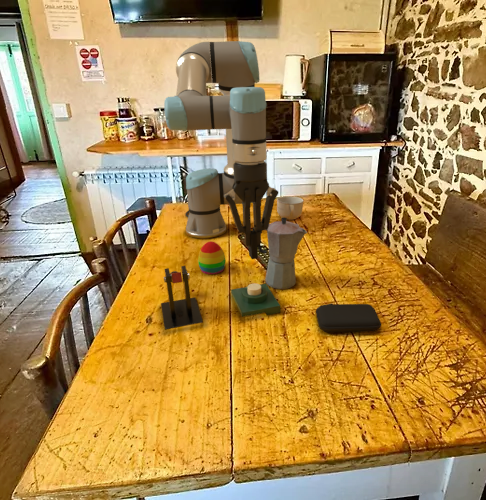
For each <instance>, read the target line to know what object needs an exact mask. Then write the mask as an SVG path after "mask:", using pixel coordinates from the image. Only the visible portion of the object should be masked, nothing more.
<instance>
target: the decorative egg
mask: <svg viewBox="0 0 486 500" xmlns="http://www.w3.org/2000/svg"><path fill="white" fill-rule="evenodd" d="M197 257H198V258H197V263H198V267H199V269H200V271H201V272H202V273H203V274H206V275H217V274H220V273H222V272H223V271H224V270H225V267H226V263H227V262H226V260H227V259H226V255H225V252H224V250H223V249H222V247H221V245H219V243H217V242H215V241H212V240H210V241H207V242H205V243H204V244H203V245H202V246H201V248H200V250H199V252H198V256H197Z"/></svg>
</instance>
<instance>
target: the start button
mask: <svg viewBox="0 0 486 500" xmlns="http://www.w3.org/2000/svg"><path fill="white" fill-rule="evenodd" d="M247 286H248V287H247ZM247 286H246V287H247V291H248V294H249V295H253V296H256V295H260V294H261V285H260V283H255V282H254V283H253V282H252V283H250V284H248V285H247Z"/></svg>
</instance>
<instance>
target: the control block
mask: <svg viewBox="0 0 486 500" xmlns="http://www.w3.org/2000/svg"><path fill="white" fill-rule="evenodd" d="M259 284H260V283H259ZM260 285H261V294H260V295H256V296H253V295H249V294H248V291H247V287H248V285H247V286H244V287H243V286H242V287H239V288H233V289H232V288H231V289H230V295H231V297H232V299H233V301H234V303H235V305H236V307H237V309H238V312H239V313H240V315H241V317H242V318H245V317H249V316H256V315H260V314H266V316H271V315H276V314H280V313H281V304H280V303H279V301H278V299H277V298H276V297H275V295H274V293H273V292H272V291H271V289H270V288H269V285H267V283H261V284H260Z"/></svg>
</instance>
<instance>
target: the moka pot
mask: <svg viewBox="0 0 486 500" xmlns="http://www.w3.org/2000/svg"><path fill="white" fill-rule="evenodd" d="M280 218H281V220H280V221H279V220H278V221H273V222H271V223H269V227H268V229H267V230H265V231H266V235H267V245H268V251H267V249H263V247H262V245H261V244H259V245H257V250H258V252H259V253H260V254H267V252H268V256H269V258H268V262H267V269H266V273H265V284H266V285H267V286H268V287H270V288H273V289H277V290H287V289H290V288H292V287H294V286H295V285H296V283H297V279H296V265H295V264H296V262H295V257H296V254H297V252H298V246H299V245H300V243H301V241H302V239H303V238H304V236H305V235H306V234H308V231H307V229H305V228H303V227H301V226H300V225H299V224H298V223H295V222H291V221H290V220H287V218H282V217H280ZM251 230H254V226H253V227H251Z"/></svg>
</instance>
